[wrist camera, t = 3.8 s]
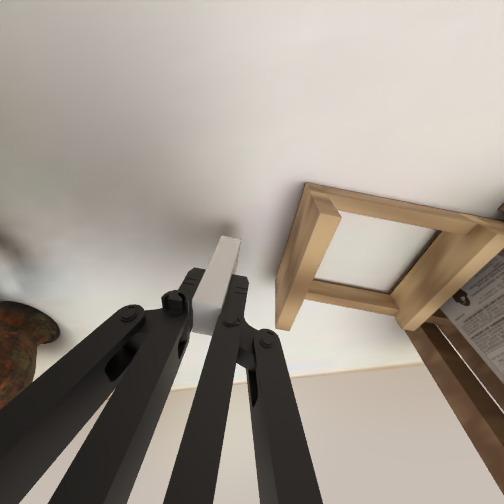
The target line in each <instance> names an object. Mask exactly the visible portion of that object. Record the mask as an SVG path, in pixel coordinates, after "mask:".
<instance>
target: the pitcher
mask: <svg viewBox="0 0 504 504" xmlns="http://www.w3.org/2000/svg"><path fill="white" fill-rule="evenodd" d="M59 334H60V333H59V328H58V326H57V324H56V323H55V322H54V321H53V320H52V319H50V318H49V317H48V316H46V315H45V314H43V313H41V312H39V311H37V310H35V309H33V308H30V307H28V306H25V305H22V304H18V303H14V302H0V409H2V408H3V407H4V406H5V405H6V404H8V403H9V402H10V401H11V400H12V399H13V398H15V397H16V396H17V395H18V394H19V393H21V392H22V391H23V390H24V389H25V388H27V387H28V386H29V385H30V384H31V383H32V381H33V377H34V374H35V368H36V355H37V346H38V345H40V344H46V343H51V342H53V341H55V340H56V339H57V338H58V337H59Z"/></svg>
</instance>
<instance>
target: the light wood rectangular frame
mask: <svg viewBox="0 0 504 504" xmlns="http://www.w3.org/2000/svg"><path fill="white" fill-rule="evenodd" d="M337 210H339V211H344V212H349V213H354V214H360V215H365V216H370V217H375V218H380V219H385V220H390V221H395V222H401V223H406V224H411V225H416V226H421V227H426V228H431V229H437V230H442V232H441V233H440V234H439V236H438V237H437V238H436V239H435V240H434V242H433V243H432V244H431V245H430V247H429V248H428V249H427V250H426V252H425V253H424V254H423V255H422V256H421V258H420V259H419V260H418V261H417V263H416V264H415V265H414V266H413V268H412V269H411V270H410V271H409V272H408V274H407V275H406V276H405V277H404V279H403V280H402V281H401V282H400V284H399V285H398V286H397V287H396V288H395V290H394V291H393V292H392V293H391V295H388V294H383V293H378V292H373V291H367V290H362V289H357V288H352V287H346V286H341V285H336V284H331V283H325V282H320V281H315V280H313V279H314V277H315V274H316V272H317V270H318V268H319V266H320V264H321V261H322V259H323V257H324V255H325V253H326V251H327V248H328V246H329V244H330V242H331V240H332V238H333V235H334V233H335V231H336V229H337V227H338V225H339V222H340V220H341V218H342V217H341V216H340V214H339V213H338V211H337ZM503 248H504V221H499V220H494V219H488V218H483V217H478V216H473V215H468V214H463V213H458V212H453V211H448V210H443V209H438V208H432V207H427V206H422V205H417V204H412V203H407V202H402V201H397V200H392V199H387V198H382V197H376V196H371V195H366V194H361V193H356V192H351V191H346V190H341V189H336V188H331V187H325V186H320V185H315V184H310V183H306V185H305V188H304V191H303V194H302V197H301V200H300V204H299V207H298V210H297V213H296V216H295V219H294V223H293V226H292V229H291V232H290V235H289V239H288V242H287V245H286V248H285V251H284V254H283V258H282V261H281V264H280V267H279V270H278V274H277V277H276V280H275V329H281V330H286V331H290V329H291V326H292V324H293V322H294V320H295V318H296V316H297V313H298V311H299V309H300V307H301V305H302V303H303V300H304V299H306V300H311V301H317V302H322V303H327V304H333V305H338V306H343V307H348V308H354V309H359V310H364V311H370V312H375V313H380V314H386V315H391V316H394V317H395V318H396V320H397V322H398V324H399V325H400V327H401V329H404V330H409V331H415V330H416V329H417V328H418V327H419V326H420V325H421V324H422V323H424V322H428V323H433V324H439V325H444V326H449V327H455V326H454V324H453V323H452V322H451V321H450V320H449V319H448V317H447V316H446V315H445V314H444V313H443V311H442V310H441V309H440V307H441V306H442V305H443V304H444V303H445V302H446V301H447V300H448V299H449V298H450V297H452V296H453V295H454V294H455V293H456V292H457V291H458V290H459V289H460V288H461V287H462V286H463V285H464V284H465V283H467V282H468V281H469V280H470V279H471V278H472V277H473V276H474V275H475V274H476V273H477V272H478V271H479V270H481V269H482V268H483V267H484V266H485V265H486V264H487V263H488V262H489V261H490V260H491V259H492V258H493V257H495V256H496V255H497V254H498V253H499V252H500V251H501V250H502V249H503ZM455 328H456V327H455Z"/></svg>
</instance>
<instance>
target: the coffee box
mask: <svg viewBox="0 0 504 504" xmlns="http://www.w3.org/2000/svg"><path fill="white" fill-rule="evenodd" d="M440 309H441V310H442V311H443V313H444V314H445V315H446V316H447V317H448V319H449V320H450V321H451V322H452V323H453V324H454V326H455V327H456V328H457V329H458V330H459V332H460V333H461V334H462V335H463V336H464V338H465V339H466V340H467V341H468V343H469V344H470V345H471V346H472V347H473V348H474V349H475V351H476V352H477V353H478V354H479V355H480V356H481V358H482V359H483V360H484V362H485V363H486V364H487V365H488V366H489V368H490V369H491V370H492V371H493V372H494V373H495V375H496V376H497V377H498V378H499V379H500V381H501V382H502V383H503V384H504V248H503V249H502V250H501V251H500V252H499V253H498V254H497V255H496V256H495V257H493V258H492V259H491V260H490V261H489V262H488V263H487V264H486V265H485V266H484V267H483V268H482V269H481V270H479V271H478V272H477V273H476V274H475V275H474V276H473V277H472V278H471V279H470V280H469V281H468V282H467V283H465V284H464V285H463V286H462V287H461V288H460V289H459V290H458V291H457V292H456V293H455V294H454V295H453V296H452V297H450V298H449V299H448V300H447V301H446V302H445V303H444V304H443V305H442V306H441V307H440Z"/></svg>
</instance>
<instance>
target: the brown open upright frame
mask: <svg viewBox="0 0 504 504" xmlns="http://www.w3.org/2000/svg"><path fill="white" fill-rule="evenodd" d="M498 210H500V211H503V212H504V204H503V205H502V206H501V207H500V208H499V209H498ZM438 327H439V328H440V329H441V330H442V332H443V333H444V334H445V336H446V337H447V338H448V340H449V341H450V342H451V343H452V345H453V346H454V347H455V349H456V350H457V351H458V352H459V354H460V355H461V356H462V358H463V359H464V360H465V362H466V363H467V364H468V365H469V367H470V368H471V369H472V371H473V372H474V373H475V374H476V376H477V377H478V378H479V380H480V381H481V382H482V383H483V385H484V386H485V387H486V389H487V390H488V391H489V393H490V394H491V395H492V397H493V398H494V399H495V400H496V402H497V403H498V404H499V406H500V407H501V408H502V409H503V411H504V384H503V383H502V382H501V381H500V379H499V378H498V377H497V376H496V375H495V373H494V372H493V371H492V370H491V369H490V368H489V366H488V365H487V364H486V363H485V362H484V360H483V359H482V358H481V356H480V355H479V354H478V353H477V352H476V351H475V349H474V348H473V347H472V346H471V345H470V344H469V343H468V341H467V340H466V339H465V338H464V336H463V335H462V334H461V333H460V332H459V330H458V329H457V328H455V327H449V326H444V325H438ZM405 332H406V333H407V335H408V337H409V338H410V340H411V342H412V343H413V345H414V347H415V348H416V350H417V352H418V353H419V355H420V357H421V358H422V360H423V362H424V363H425V365H426V367H427V368H428V370H429V372H430V373H431V375H432V377H433V378H434V380H435V382H436V383H437V385H438V387H439V388H440V390H441V391H442V393H443V395H444V396H445V398H446V400H447V402H448V403H449V405H450V407H451V408H452V410H453V411H454V413H455V415H456V416H457V418H458V420H459V421H460V423H461V425H462V427H463V428H464V430H465V431H466V433H467V435H468V436H469V438H470V440H471V441H472V443H473V445H474V446H475V448H476V450H477V452H478V453H479V455H480V456H481V458H482V460H483V461H484V463H485V465H486V466H487V468H488V470H489V471H490V473H491V475H492V476H493V478H494V480H495V481H496V483H497V485H498V486H499V488H500V490H501V491H502V493H503V495H504V414H503V413H502V411H501V410H500V409H499V407H498V406H497V405H496V404H495V402H494V401H493V400H492V398H491V397H490V396H489V394H488V393H487V392H486V390H485V389H484V388H483V387H482V385H481V384H480V383H479V381H478V380H477V379H476V377H475V376H474V375H473V373H472V372H471V371H470V370H469V368H468V367H467V366H466V364H465V363H464V362H463V360H462V359H461V358H460V356H459V355H458V354H457V352H456V351H455V350H454V348H453V347H452V346H451V345H450V343H449V342H448V341H447V339H446V338H445V337H444V335H443V334H442V333H441V331H440V330H439V329H438V328H437V326H436V325H435V324H433V323H428V322H424V323H422V324H421V325H420V326H419V327H418V328H417V329H416V330H415V331H409V330H405Z"/></svg>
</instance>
